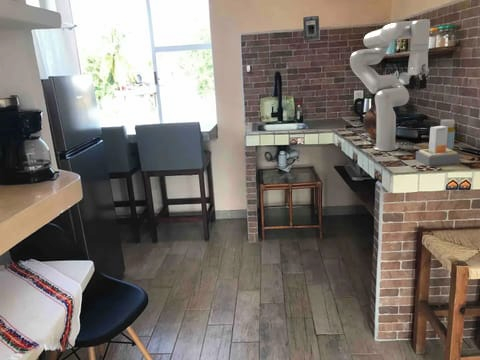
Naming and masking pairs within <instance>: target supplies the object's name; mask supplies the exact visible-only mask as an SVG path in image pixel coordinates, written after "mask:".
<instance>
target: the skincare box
mask: <svg viewBox="0 0 480 360" xmlns="http://www.w3.org/2000/svg"><path fill="white" fill-rule="evenodd" d="M447 133H448V127H446V126H440V125H437V126H430V128H429V141H428V142H429V143H428V149H429V153H432V154H438V153H446V145H447Z"/></svg>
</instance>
